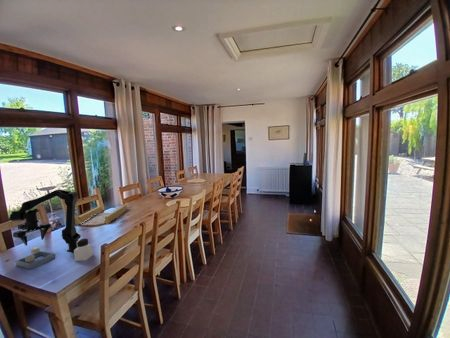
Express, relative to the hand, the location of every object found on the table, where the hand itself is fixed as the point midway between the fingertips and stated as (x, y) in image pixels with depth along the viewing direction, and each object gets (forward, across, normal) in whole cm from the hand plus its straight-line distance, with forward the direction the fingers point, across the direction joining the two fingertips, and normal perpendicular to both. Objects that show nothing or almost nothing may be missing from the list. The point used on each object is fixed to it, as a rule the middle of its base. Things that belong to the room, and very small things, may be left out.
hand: (34, 242), depth 147 cm
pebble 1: (+8, +9, +11) cm, 16 cm away
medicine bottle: (+9, -6, +36) cm, 38 cm away
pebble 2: (+9, 0, 0) cm, 9 cm away
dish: (+9, +6, +11) cm, 15 cm away
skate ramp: (+9, -67, -21) cm, 71 cm away
